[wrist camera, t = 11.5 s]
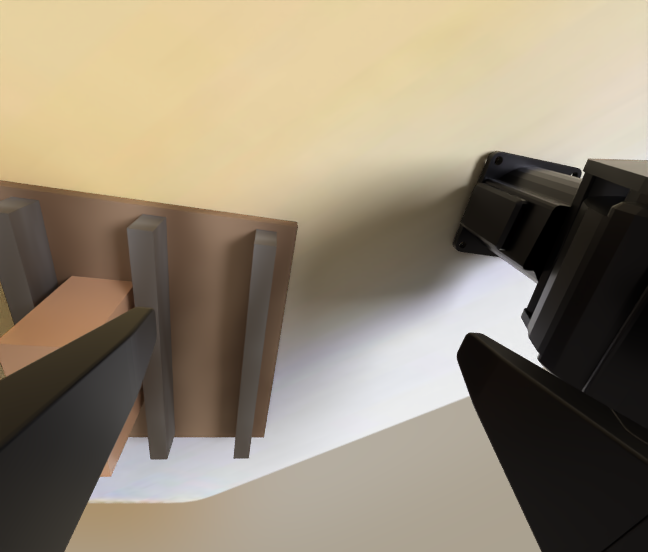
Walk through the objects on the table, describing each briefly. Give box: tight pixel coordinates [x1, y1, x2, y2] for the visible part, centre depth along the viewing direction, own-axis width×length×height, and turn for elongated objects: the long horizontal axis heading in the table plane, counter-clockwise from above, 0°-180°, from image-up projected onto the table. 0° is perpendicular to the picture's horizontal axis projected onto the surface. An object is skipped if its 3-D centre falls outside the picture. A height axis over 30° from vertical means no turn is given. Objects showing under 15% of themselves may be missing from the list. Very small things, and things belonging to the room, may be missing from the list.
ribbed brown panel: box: [0, 181, 298, 459], centre depth 22 cm, size 16×20×3 cm
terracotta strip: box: [0, 276, 144, 477], centre depth 19 cm, size 4×10×6 cm, turn 169°
